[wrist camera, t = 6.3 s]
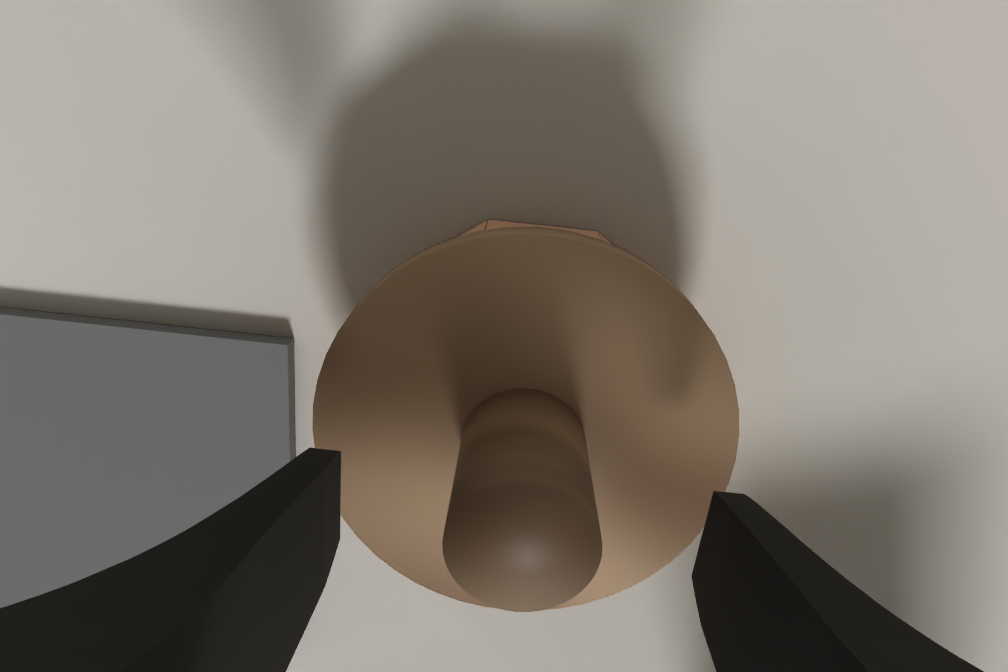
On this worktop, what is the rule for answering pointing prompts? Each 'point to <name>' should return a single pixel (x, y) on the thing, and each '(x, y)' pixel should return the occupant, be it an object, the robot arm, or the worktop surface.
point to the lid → (527, 419)
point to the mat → (127, 437)
